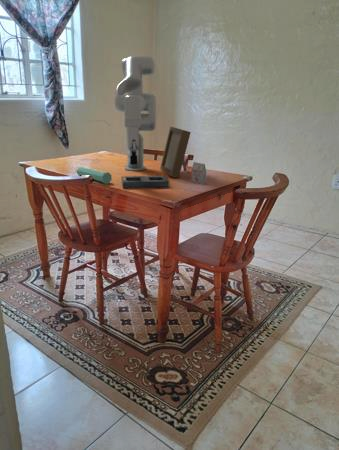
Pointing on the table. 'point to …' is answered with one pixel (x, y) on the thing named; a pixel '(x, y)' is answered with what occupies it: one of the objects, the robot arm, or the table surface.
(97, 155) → the table surface
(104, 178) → the container
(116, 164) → the table surface
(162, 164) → the photo frame
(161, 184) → the block
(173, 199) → the table surface
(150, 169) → the table surface
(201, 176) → the grey upright block
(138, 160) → the bushing
